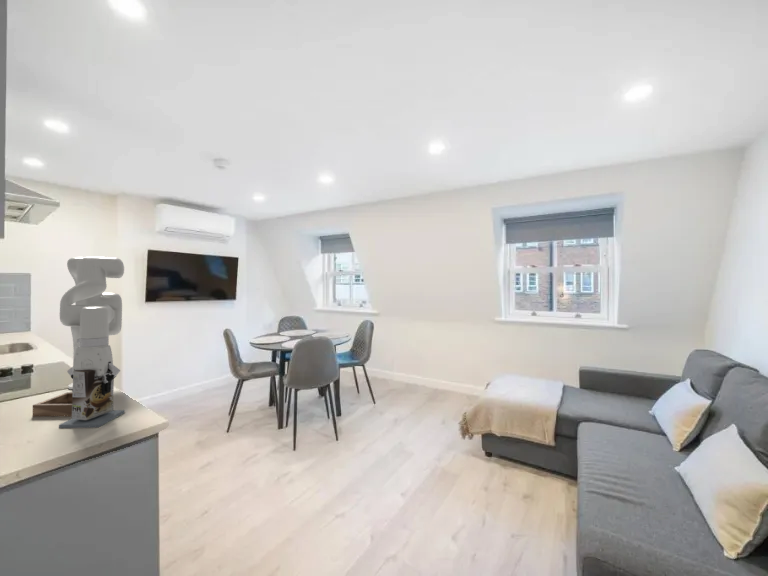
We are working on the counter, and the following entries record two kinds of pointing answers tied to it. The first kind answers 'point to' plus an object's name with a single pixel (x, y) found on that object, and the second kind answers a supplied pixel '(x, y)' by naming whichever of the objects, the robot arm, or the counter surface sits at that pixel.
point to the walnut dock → (54, 406)
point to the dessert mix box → (90, 395)
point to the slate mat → (92, 420)
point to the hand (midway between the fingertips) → (93, 393)
